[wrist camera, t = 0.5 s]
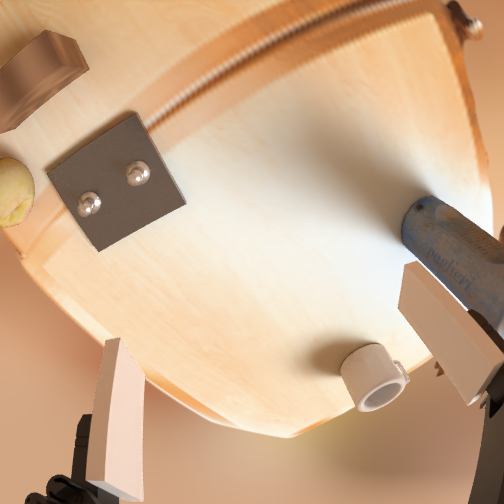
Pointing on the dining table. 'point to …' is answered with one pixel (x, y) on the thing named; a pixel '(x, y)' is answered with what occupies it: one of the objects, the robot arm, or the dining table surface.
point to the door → (37, 76)
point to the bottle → (458, 256)
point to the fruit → (15, 192)
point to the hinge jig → (117, 184)
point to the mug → (372, 377)
